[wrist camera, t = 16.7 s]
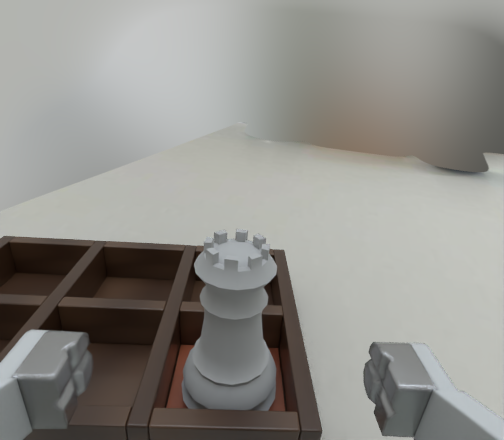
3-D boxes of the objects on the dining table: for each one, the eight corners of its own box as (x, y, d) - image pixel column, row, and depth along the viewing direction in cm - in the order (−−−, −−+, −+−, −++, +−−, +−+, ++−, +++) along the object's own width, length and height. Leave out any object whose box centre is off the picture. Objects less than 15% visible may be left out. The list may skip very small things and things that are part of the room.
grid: (-208, 471, 13) (-253, 416, 11) (13, 273, 25) (3, 235, 24) (311, 481, 14) (322, 431, 12) (279, 285, 26) (284, 249, 25)
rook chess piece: (206, 344, 19) (208, 212, 15) (284, 369, 18) (305, 231, 14) (162, 415, 15) (153, 258, 12) (259, 452, 14) (279, 289, 10)
